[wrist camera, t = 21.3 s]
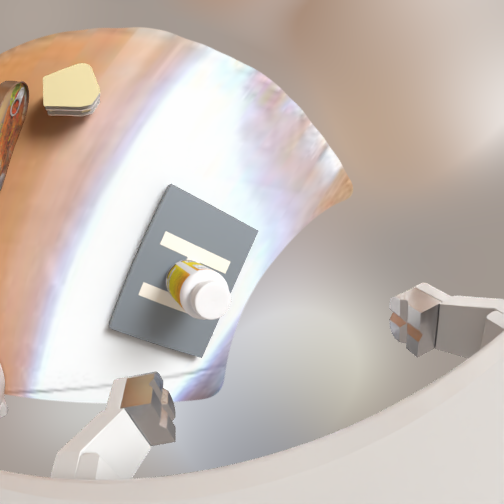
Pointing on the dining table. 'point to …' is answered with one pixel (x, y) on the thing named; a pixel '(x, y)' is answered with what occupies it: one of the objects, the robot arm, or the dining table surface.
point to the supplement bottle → (198, 290)
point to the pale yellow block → (71, 91)
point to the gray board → (165, 256)
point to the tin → (11, 119)
